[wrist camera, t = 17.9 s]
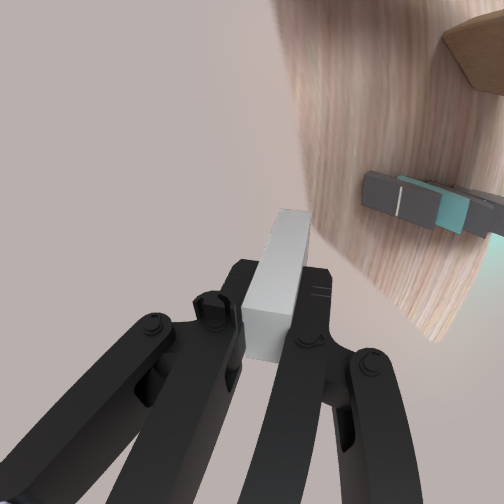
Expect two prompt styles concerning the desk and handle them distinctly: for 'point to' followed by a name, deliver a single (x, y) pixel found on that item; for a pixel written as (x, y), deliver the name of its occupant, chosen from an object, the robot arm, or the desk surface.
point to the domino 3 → (473, 212)
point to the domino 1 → (401, 199)
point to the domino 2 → (446, 206)
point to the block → (480, 50)
